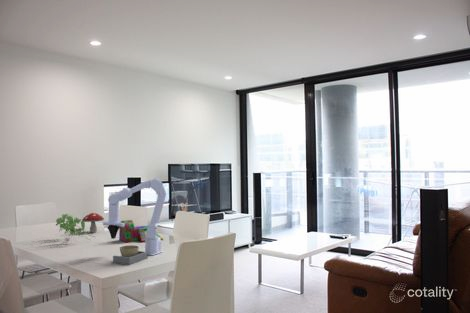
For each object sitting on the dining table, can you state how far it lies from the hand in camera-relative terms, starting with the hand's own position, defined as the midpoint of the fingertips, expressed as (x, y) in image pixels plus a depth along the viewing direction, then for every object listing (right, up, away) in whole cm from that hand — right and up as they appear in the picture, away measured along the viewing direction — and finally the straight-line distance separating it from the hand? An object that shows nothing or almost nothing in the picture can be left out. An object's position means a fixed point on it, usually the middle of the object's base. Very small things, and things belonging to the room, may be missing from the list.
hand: (113, 238), depth 214 cm
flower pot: (+13, -9, -12) cm, 20 cm away
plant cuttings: (-39, -11, +39) cm, 56 cm away
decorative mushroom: (-39, -11, +72) cm, 83 cm away
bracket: (+14, -9, -13) cm, 21 cm away
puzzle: (+5, -11, +43) cm, 45 cm away
